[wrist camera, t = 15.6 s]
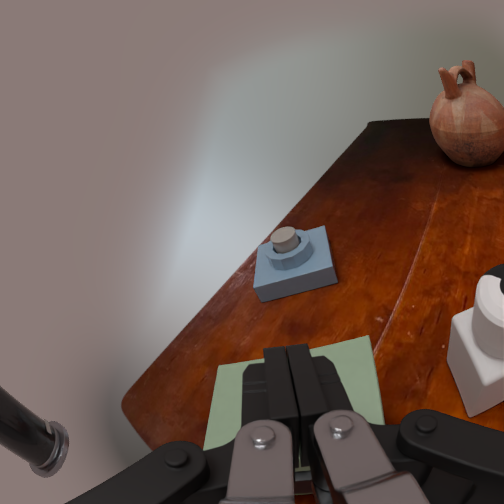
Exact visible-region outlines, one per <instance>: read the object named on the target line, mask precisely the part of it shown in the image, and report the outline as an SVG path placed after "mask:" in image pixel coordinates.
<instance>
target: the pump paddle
mask: <svg viewBox="0 0 504 504" xmlns="http://www.w3.org/2000/svg"><path fill="white" fill-rule="evenodd" d="M311 477H312V476H311V471H310V470H309V471H297V472H295V486H294V494H302V493H313V491H312V488H311Z"/></svg>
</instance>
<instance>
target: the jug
mask: <svg viewBox="0 0 504 504" xmlns="http://www.w3.org/2000/svg"><path fill="white" fill-rule="evenodd" d="M438 71H439V74H440V77H441V80H442V83H443V86H444V91H442V92H441V93H440V94H439V95H438V96H437V98H436V99H435V101H434V104H433V106H432V109H431V112H430V119H429V121H430V126H431V130H432V133H433V136H434V138H435V140H436V142H437V143H438V145H439V146H440V148H441V149H442V150H443V151H444V152H445V153H446V155H447V156H448V157H449V158H450V159H451V160H452V161H453V162H455V163H456V164H459V165H462V166H466V167H481V166H486V165H490V164H492V163H494V162H495V161H496V160H497V159H498V158H499V157H500V155H501V154H502V153H503V151H504V107H503V106H502V105H501V104H500V103H499V101H498V100H497V99H496V98H495V97H494V96H492V95H491V94H490V93H489V92H487V91H486V90H484V89H483V88H480V87H479V86H477V84H476V76H475V67H474V63H473V62H472V61H468V60H463V61H462V67H461V66H454V67H452V68H451V69H450V70H449V71H447V70H446V69H445V68H439V70H438ZM459 74H461V76H462V78H463V83H462V84H457V78H458V75H459Z"/></svg>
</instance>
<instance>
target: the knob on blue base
mask: <svg viewBox="0 0 504 504" xmlns="http://www.w3.org/2000/svg"><path fill="white" fill-rule="evenodd" d="M295 231H296V234H297V236H298V239H299V241H300V243H299V245H298V247H297V248H295V249H294V250H292V251H290V252H287V253H284V254H280V253H277V252H276V250H275V248H274V246H273V244H272V242H271V240H270V242H269V243H266V244H262V245H259V246H258V253H257V262H256V270H255V278H254V286H253V288H254V290H255V292H256V293H257V295H258V297H259V299H260V301H261V302H266V301H270V300H274V299H278V298H282V297H286V296H289V295H293V294H297V293H301V292H305V291H309V290H312V289H316V288H320V287H323V286H327V285H331V284H334V283H338V280H337V275H336V270H335V265H334V260H333V255H332V250H331V245H330V240H329V237H328V234H327V231H326V228H325V226H321V227H318V228H315V229H311V230H308V231H303V230H295Z"/></svg>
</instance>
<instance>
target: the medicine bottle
mask: <svg viewBox="0 0 504 504" xmlns="http://www.w3.org/2000/svg"><path fill="white" fill-rule="evenodd" d="M447 363H448V365H449V367H450V370H451V372H452V375H453V377H454V380H455V382H456V385H457V387H458V390H459V392H460V395H461V398H462V400H463V403H464V406H465V409H466V411H467V414H468V416H469V417H473V416H475V415H477V414H479V413H481V412H483V411H485V410H487V409H489V408H491V407H493V406H495V405H497V404H499V403H500V402H502V401H504V264H500V265H497V266H495V267H493V268H491V269H490V270H488V271H487V272H486V273H485V274H484V275H483V276H482V277H481V279H480V280H479V282H478V285H477V289H476V296H475V303H474V307H472V308H470V309H468V310H466V311H463V312H461V313H459V314H457V315H454V316H453V318H452V323H451V332H450V340H449V347H448V354H447Z"/></svg>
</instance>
